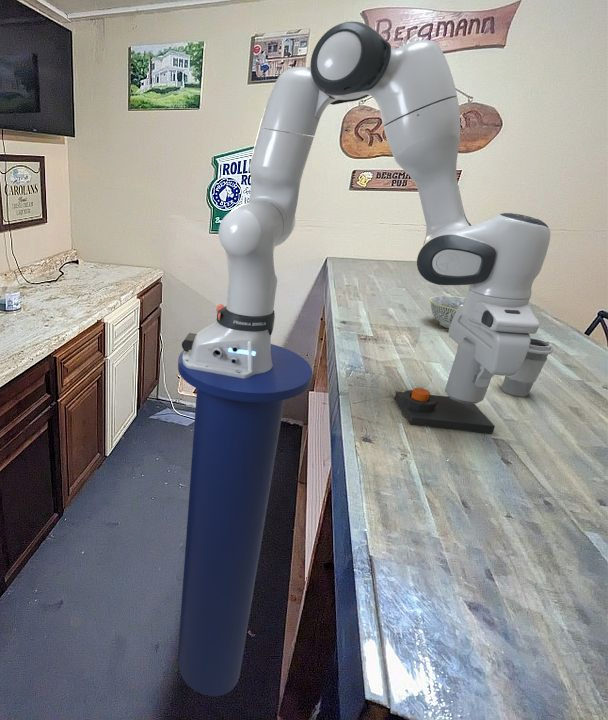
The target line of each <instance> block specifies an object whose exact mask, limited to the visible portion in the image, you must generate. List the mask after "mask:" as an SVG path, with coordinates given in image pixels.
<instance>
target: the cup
mask: <svg viewBox="0 0 608 720" xmlns="http://www.w3.org/2000/svg"><path fill="white" fill-rule="evenodd" d="M530 338H531V341H530V346H529V349H528V352H527V354H526V357H525V359H524V361H523V363H522V366H521V368H520V370H519V371H518V372H517V373H516V374H514V375H513V376H504V379H503V383H502V385H501V390H502V391H503V392H504V393H506V394H507V395H512V396H515V397H528V395H529V393H530V391H531V389H532V387H533V386H534V384H535V383H536V381H537V380H538V378H539V375H540V373H541V371H542V369H543V368H544V366H545V363H546V362H547V360H548V356H549V355H551V354H553V353H554V351H553V347H552V346H553V344H552V343H550V342H549V341H547V340H545V339H541V338H537V337H532V336H530Z"/></svg>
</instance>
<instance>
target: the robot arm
mask: <svg viewBox="0 0 608 720" xmlns="http://www.w3.org/2000/svg"><path fill="white" fill-rule="evenodd" d="M453 77H454V76H453V74H452V71H451V69H450V65H449V63H448V61H447V59H446V56H445V53H444V51H443V50H442V48H441V47H440V44H439V43H437V42H436V41H433V40H431V39H419V40H415V41H411V42H408V43H405V44H404V45H402V46H400V47H396V48H392V45H391V43H390V42H389V41H388V40H387V39H385V38H384V37H383V36H382V35H381V34H380V33H379V32H378V31H377V30H375V29H374V28H372V27H371V26H369V25H367V24H366V23H363V22H360V21H345V22H341V23H338V24H336V25H335V26H333V27H331V28H330V29H328V30H327V31H326V32H325V33H324V34H323V35H322V36H321V37H320V38H319V39H318V41H317V43H316V45H315V46H314V48H313V51H312V54H311V57H310V65H309V66H295V67H291V68H289V69H286V70H284V71H283V72H282V73H280V75H279V76H278V78H276V81H275V83H274V85H273V87H272V90H271V92H270V95H269V97H268V99H267V101H266V105H265V108H264V110H263V113H262V117H261V120H260V124H259V128H258V132H257V135H256V139H255V142H254V147H253V149H252V154H251V158H250V162H249V168H248V169H249V174H250V193H249V198H248V199H249V200H248V202H246V203H243V204H239V205H238V206H236V207H235V208H233V209H232V210H231V211H229V212H228V213H226V215H224V217H222V219H221V222H220V224H219V227H218V240H219V242H220V244H221V246H222V248H223V249H224V251H225V257H226V265H227V271H228V283H227V295H226V305H225V306H224V304H222V303H219V304H218V305H217V306H216V309H215V312H216V321H214V322H213V323H211V324H210V325H208V326H206V327H203V328H202V329H200V330H199V331H198V332H197V333H193V332H189V333H188V334H187V335H186V336H185V338H184V339H183V341H182V342H181V348H182V349H183V350H184V353H183V358H182V362H183V364H184V366H185V367H186V368H189V369H194V370H200V371H205V372H211V373H216V374H222V375H227V376H232V377H238V378H249V377H251V376H253V375H256V374H261V373H264V372H267V371H269V370H270V369H271V368H272V366H273V364H272V358H271V344H272V342H271V340H272V339H271V338H272V334H273V331H274V326H275V319H276V316H275V314H276V313H275V310H274V309H275V301H276V294H277V287H278V277H277V276H278V275H276V272H275V261H274V253H275V248H276V247H278V246H280V245H282V244H284V243H285V241H287V240H288V238H289V237H290V236H291V234H292V233H293V231H294V229H295V227H296V221H297V220H296V213H297V207H298V200H299V195H300V194H299V193H300V188H301V182H302V178H303V174H304V170H305V168H306V164H307V161H308V158H309V154H310V151H311V148H312V145H313V141H314V139H315V136H316V132H317V129H318V126H319V122H320V120H321V117H322V115H323V113H324V111H325V110H326V108H327V107H329V105H333V106H334V105H339V104H344V103H352V102H357V101H360V100H363V99H365V98H367V97H372V98H373V99H374V100H375V102H376V104H377V106H378V109H379V113H380V117H381V123H382V126H383V131H384V135H385V139H386V142H387V145H388V147H389V150H390V153H391V154H392V157H393V159H394V161H395V163H396V164H397V165H398V166H399V167H400V168H401V169H402V170H403V171H404V172H405V173H407V175H408V176H409V177H410V178H411V180H412V181H413V183H414V184H415V187H416V189H417V192H418V195H419V201H420V204H421V208H422V212H423V216H424V221H425V227H426V233H425V238H424V241H423V244H422V247H421V248H420V250H419V252H418V255H417V257H416V267H417V271H418V272H419V274H420V276H421V277H422V278H423V279H424V280H426V281H427V282H429V283H431V284H434V285H438V286H469V287H468V290H467V294H466V297H465V298H466V299H465V301H464V303H463V304H462V305H460V306H459V307H458V308H457V310H456V312H455V315H454V317H453V320H452V322H451V325H450V328H448V337H449V338H450V339H451V340H452V341H454V342H455V343H456V344H457V348H456V351H457V350H458V347H459V344H460V343H461V342H463V339H464V338H465V337H466V338H467V339H468V340H469V341H470V342H472V343H473V344H475V345H476V347H475V354H474V359H475V360H476V361H477V362H479V363H480V364H481V366H480V369H481V371H480V373H479V374H478V375H475V376H474V379H473V383H474V384H475V385H476V386H477V387H486V386H487V384H488V381H489V379H490V378H491V377H492V378H493V377H494V376H504V377H505V376H513V375H514V374H516V373H517V372H518V371H519V370H520V368H521V366H522V363H523V361H524V359H525V357H526V354H527V352H528V349H529V346H530V341H531V338H530V337H531V335H530V334H532V335H533V334H537V332H538V330H539V327H540V322H539V319H538V318H537V317H536V316H535V314H534V312H533V310H532V307H531V305H530V304H529V302H530V300H531V297H532V294H533V293H532V287H533V284H534V281H535V279H536V278H537V277H538V276H539V274H540V273H541V270H542V268H543V266H544V262H545V259H546V257H547V253H548V250H549V246H550V241H551V229H550V228H549V226H548V224H546V223H545V222H544V221H542V220H541V219H540V218H535V217H532V216H529V215H524V214H519V213H514V212H513V213H512V212H503V213H498V214H497V215H496V216H494V217H492V218H489V219H486V220H484V221H481V222H478V223H476V224H471V223H470V222H469V220H468V218H467V216H466V214H465V210H464V206H463V201H462V196H461V191H460V187H459V181H458V177H457V174H458V173H457V164H458V155H459V149H460V142H461V141H460V140H461V112H460V103H459V98H458V93H457V88H456V83H455V81H454V78H453ZM492 378H491V379H492Z"/></svg>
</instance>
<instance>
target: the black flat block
mask: <svg viewBox="0 0 608 720" xmlns="http://www.w3.org/2000/svg"><path fill="white" fill-rule="evenodd" d="M412 391H413V389H409V390H404V391H400V390H399V391H398V390H397V391H395V394H394V400H395V401H396V403H397V405H398V407H399V408H400V410H401V411H402V413H403V414H404V416H405V418H406V419H407V421H408V423H409V425H411V426H412V425H413V426H421V427H430V428H438V429H447V430H455V431H456V430H457V431H464V432H465V431H466V432H472V433H482V434H483V433H484V434H493V433H494V430H495V427H496V426H495V424H494V423H493V422H492V421H491V420H490V419H489V418H488V417H487V416H486V414H484V412H483V411H481V409H480V408H479V407H478V406H477V405H476V403H475V404H468V403H462V402H458V401H456V400H453V399H451V398H450V397H449V396H448V395H438V394H430V396H429V399H428V401H426V402H424V401H418V400H415V399H413V398H411V395H412Z"/></svg>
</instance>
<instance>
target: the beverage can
mask: <svg viewBox="0 0 608 720" xmlns="http://www.w3.org/2000/svg"><path fill="white" fill-rule="evenodd" d="M457 347H458V346H457ZM475 347H476V345H475V344H473V343H472V342H470V341H469V340H468V339H467V338H466V337H465V338H464V339H463V342H461V343H460V344H459V347H458V350H457V349H456V353H455V357H454V360H453V363H452V365H451V369H450V372H449V375H448V378H447V381H446V384H445V387H444V392H445V394H446V396H449V397H450V398H451V399H453V400H456V401H458V402H462V403H468V404H475V405H476V404H478V403H481V402H483V401H484V399H485V396H486V394H487V392H488V388H489V386H490V383H491V381H492V378H493V377H491V378H490V379H489V381H488V384H487V386H486V387H477V386H476V385H475V384H474V383H473V379H474V376H475V375H478V374H479V373H480V371H481V369H480V366H481V364H480V363H479V362H477V361H476V360H475V359H474V354H475Z"/></svg>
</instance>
